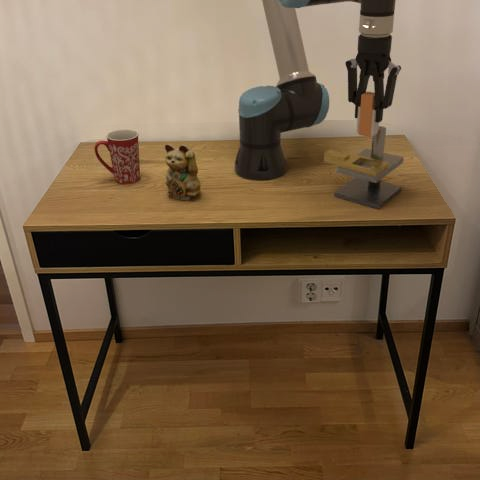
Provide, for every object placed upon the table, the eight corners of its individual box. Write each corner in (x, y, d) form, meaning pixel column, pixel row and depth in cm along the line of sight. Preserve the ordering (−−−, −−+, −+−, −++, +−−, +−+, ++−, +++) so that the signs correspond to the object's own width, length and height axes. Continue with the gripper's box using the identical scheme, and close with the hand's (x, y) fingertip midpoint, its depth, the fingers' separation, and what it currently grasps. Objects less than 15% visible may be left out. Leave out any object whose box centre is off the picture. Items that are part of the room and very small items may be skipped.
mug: (144, 171, 174) (139, 127, 167) (142, 184, 166) (137, 139, 159) (101, 173, 173) (94, 130, 167) (97, 186, 166) (90, 141, 159)
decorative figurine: (162, 199, 158) (157, 146, 150) (173, 186, 164) (169, 135, 157) (196, 203, 155) (193, 149, 148) (206, 189, 162) (203, 138, 154)
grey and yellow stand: (317, 193, 158) (320, 132, 149) (346, 174, 168) (350, 115, 160) (376, 211, 149) (383, 146, 140) (403, 189, 159) (411, 128, 150)
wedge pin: (358, 134, 145) (361, 94, 140) (364, 131, 147) (367, 91, 142) (369, 136, 144) (372, 96, 139) (375, 133, 146) (378, 93, 141)
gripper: (336, 33, 136) (331, 130, 147) (401, 40, 127) (390, 144, 139) (352, 27, 141) (346, 122, 152) (415, 34, 132) (404, 134, 144)
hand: (367, 132), depth 145 cm, fingers closed on wedge pin, 3 cm apart
